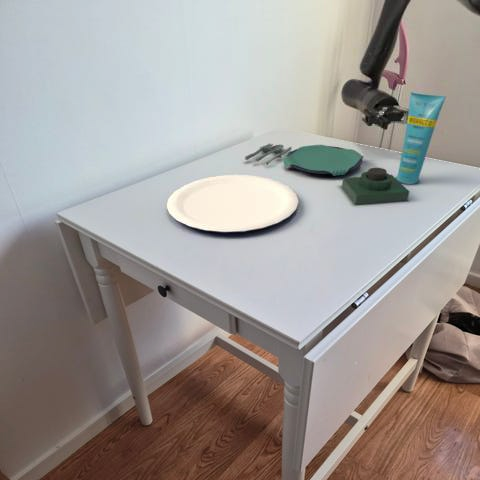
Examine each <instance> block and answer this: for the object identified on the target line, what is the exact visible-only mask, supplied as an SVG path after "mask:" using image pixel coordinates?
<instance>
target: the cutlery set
mask: <svg viewBox="0 0 480 480" xmlns="http://www.w3.org/2000/svg"><path fill="white" fill-rule="evenodd" d="M284 147H285V146H284V144H275V145H274V143H268V144H265V145H263V146H260V147H259V149H257V150H256V151H255V152H253V153H250V154H248V155H246V156H244V160H246V161H249V160H250V159H252V158H253V157H256V156H257V155H259V154H260V153H261V152H266V151H268V150H269V149H270V151H268V152H266V153H264V154H262V155H260V156H258V157H256V158H255V162H261V160H262V159H264V158H265V157H267V156H270V154H273V153H276V154H275V155H274V157H273V158H271V159H270V160H268V161H266V162H265V165H266V166H269V164H270V163H271V162H272V161H274V160H276V159H279V158H280V159H281V158H282V156H283V155H285V156H284V158H283V165H284V167H285V168H286V169H288V166H290V167H292V168H294V169H296V170H298V171H302V172H306V173H311V174H319V175H332V176H334V177H336V176H340V175H341V176H344V175H346V173H348V172H350V171H354V170H355V169H357V168H358V167H360V166H361V165H362V162H363V158H364V156H363V155H362V154H361V153H359V152H358V151H356V150H355V149H351V148H344V147H339V146H333V145H324V144H311V145H303V146H300V147H298V148H296V149H293V150H292V146H289V147H288V148H286V149H285V150H283V149H284ZM282 150H283V151H282ZM279 152H280V153H279Z"/></svg>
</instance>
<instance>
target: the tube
mask: <svg viewBox="0 0 480 480" xmlns="http://www.w3.org/2000/svg"><path fill="white" fill-rule="evenodd" d="M446 97H447V95H441V94H428V93H419V92H414V91H411V92H410V95H409V105H408V106H409V107H408V109H409V114H408V121H407V123H406V128H405V134H404V139H403V145H402V152H401V156H400V161H399V166H398V172H397V177H396V179H397V180H398V181H399V182H400V183H401V184H405V185H414V184H417V183H418V181H419V180H420V179H419V178H420V175H421V172H422V170H423V166H424V163H425V159H426V156H427V153H428V150H429V146H430V143H431V140H432V137H433V134H434V131H435V128H436V124H437V122H438V118H439V115H440V113H441V110H442V108H443V105H444V103H445V100H446Z"/></svg>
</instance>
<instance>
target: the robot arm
mask: <svg viewBox="0 0 480 480" xmlns="http://www.w3.org/2000/svg"><path fill="white" fill-rule="evenodd" d="M456 1H457V2H458V3H460V5H461V6H463V7H464V8H465V9H466V10H467V11H469V12H471V14H473V15H475V16H478V17H480V0H456ZM411 2H412V0H384V1H383V5H382V8H381V11H380V14H379V18H378V20H377V23H376V26H375V29H374V31H373V34H372V36H371V38H370V41H369V42H368V45H367V47H366V50H365V52H364V54H363V56H362V58H361V61H360V64H359V71H360V73H361V74H362V75H364V76H365V77H367V78H368V80H367V81H366V80H361V79H358V78H351V79H349V80H347V81H346V82H344V84H343V86H342V88H341V92H340V96H341V97H340V98H341V101H342V103H343V104H344V105H345V106H348V107H350V108H352V109H355V110H358V111H359V112H361V113H362V118H361V120H362V122H363V123H364V124H365V125H366V126H368V127H372V126H373V125H374V126H375V127H378V128H381V129H382V130H383V131H384V130H385V131H386V130H388V128H389V125H390V124H401V125H407V121H408V114H409V108H406V107H402V106H400V104H399V101H398V100H397V98H395V97H394V96H393V95H391V94H389V93H387V92H386V91H384V90H380V84H381V80H382V77H383V74H384V71H385V69H386V67H387V64H388V63H389V61H390V59H391V57H392V55H393V53H394V50H395V48H396V44H397V42H398V36H399V31H400V26H401V23H402V19H403V17H404V14H405V11H406V9H407V7H409V5H410V3H411Z"/></svg>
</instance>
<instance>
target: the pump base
mask: <svg viewBox="0 0 480 480" xmlns="http://www.w3.org/2000/svg"><path fill="white" fill-rule="evenodd" d="M367 175H368V171H365V172H362V173H361V174H360V176H354V177H343V178H342V183H341V188H342V189H343V190H344V192H345V193H346V195H347V196H348V197H349V199H350V200H351V201H352V202H353V203H354V204H355V205H368V204H369V205H370V204H381V203H393V202H394V203H395V202H407V201H408V198H409V194H410V190H409V189H407V188H406V187H405V185H403V183H401V182H400V181H398V180H397V177H395V176H394V175H393V174H389V173H388V172H387V173H386V178H385V180H383V181H375V180H370V179H368V178H367Z"/></svg>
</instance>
